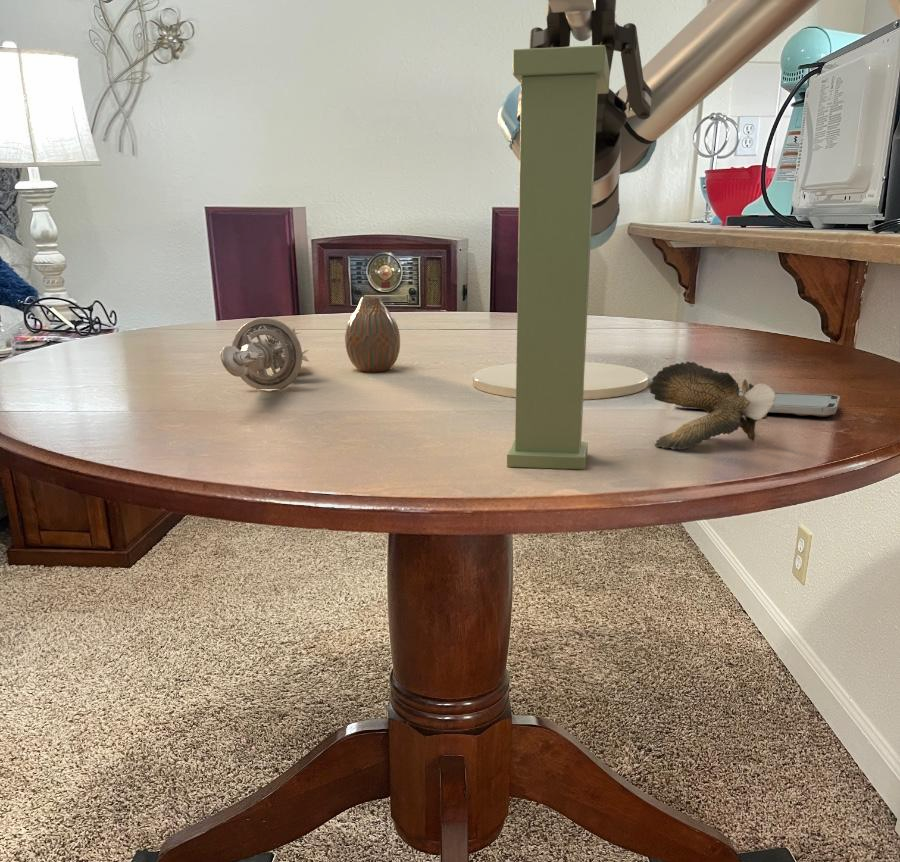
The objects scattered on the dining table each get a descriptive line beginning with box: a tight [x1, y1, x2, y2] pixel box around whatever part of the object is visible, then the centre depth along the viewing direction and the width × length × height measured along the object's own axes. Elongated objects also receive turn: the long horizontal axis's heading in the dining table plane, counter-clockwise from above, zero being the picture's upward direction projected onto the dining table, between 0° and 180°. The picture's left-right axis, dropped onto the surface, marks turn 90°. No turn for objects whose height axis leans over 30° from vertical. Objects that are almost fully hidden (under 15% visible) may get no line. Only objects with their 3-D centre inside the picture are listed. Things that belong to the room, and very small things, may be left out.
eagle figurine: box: [647, 361, 776, 450], centre depth 74 cm, size 8×7×9 cm
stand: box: [506, 45, 611, 470], centre depth 69 cm, size 12×6×28 cm, turn 169°
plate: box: [472, 361, 650, 401], centre depth 102 cm, size 20×20×1 cm
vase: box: [344, 295, 401, 373], centre depth 111 cm, size 7×7×9 cm
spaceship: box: [219, 317, 310, 390], centre depth 99 cm, size 8×35×8 cm
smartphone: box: [673, 390, 841, 418], centre depth 88 cm, size 7×1×15 cm
